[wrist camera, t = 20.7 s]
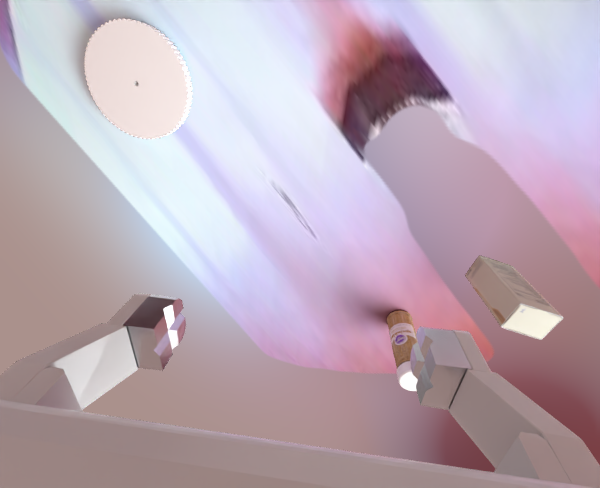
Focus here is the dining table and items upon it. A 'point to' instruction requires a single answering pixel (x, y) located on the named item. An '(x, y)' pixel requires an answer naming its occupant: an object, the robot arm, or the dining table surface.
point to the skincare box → (512, 298)
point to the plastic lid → (138, 78)
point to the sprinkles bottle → (403, 346)
